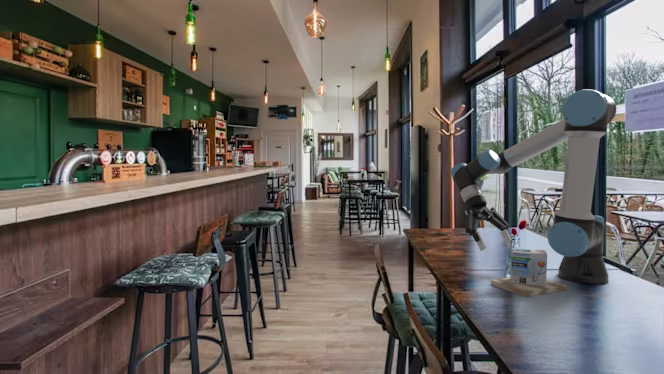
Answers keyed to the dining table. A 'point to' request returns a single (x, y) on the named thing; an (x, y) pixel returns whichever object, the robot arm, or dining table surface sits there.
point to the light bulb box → (528, 267)
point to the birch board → (527, 287)
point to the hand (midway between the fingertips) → (497, 247)
